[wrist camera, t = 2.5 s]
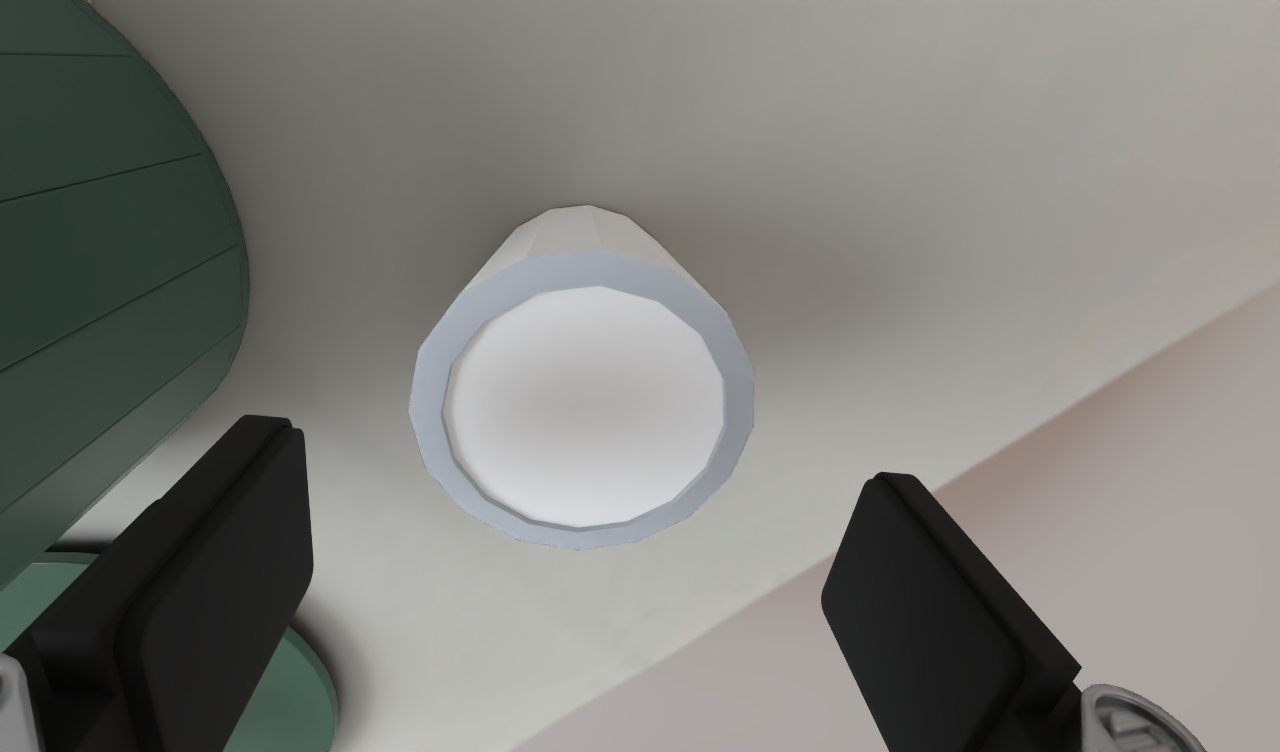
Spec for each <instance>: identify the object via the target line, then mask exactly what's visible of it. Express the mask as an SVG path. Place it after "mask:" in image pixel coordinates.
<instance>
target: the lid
mask: <svg viewBox="0 0 1280 752" xmlns="http://www.w3.org/2000/svg"><path fill="white" fill-rule="evenodd" d="M99 555H100V554H91V553H79V552H43V553H42V554H41V555H40V556H39V557H38V558H37V559H36V560H35V561H33V562H32V563H31V564H30V565H29V566H28V567H27V568H26V569H25V570H24V571H23V572H22V573H20V574H19V575H18V576H17V577H16V578H15V579H14V580H13V581H12V582H11V583H10V584H9V585H7V586H6V587H5V588H4V589H3V590H2V591H1V592H0V652H3V651H4V650H5V649H6V648H7V647H8V646H9V645H10V644H11V643H12V642H13V641H14V640H15V639H16V638H17V637H18V636H19V635H20V634H21V633H22V632H23V631H24V630H25V629H26V628H27V627H28V626H29V625H30V624H31V623H32V622H33V621H34V620H35V619H36V618H37V617H38V616H39V615H40V614H41V613H42V612H43V611H44V610H45V609H46V608H47V607H48V606H49V605H50V604H51V603H52V602H53V601H54V600H55V599H56V598H57V597H58V596H59V595H60V594H61V593H62V592H63V591H64V590H65V589H66V588H67V587H68V586H69V585H70V584H71V583H72V582H73V581H74V580H75V579H76V578H77V577H78V576H79V575H80V574H81V573H82V572H83V571H84V570H85V569H86V568H87V567H88V566H89V565H90V564H91V563H92V562H93V561H94V560H95V559H96V558H97V557H98V556H99ZM337 725H338V701H337V696H336V691H335V688H334V685H333V683H332V680H331V678H330V675H329V673H328V671H327V670H326V668H325V667H324V665H323V663H322V662H321V660H320V659H319V657H318V655H317V654H316V653H315V652H314V651H313V650H312V649H311V647H310V646H309V645H308V644H307V643H306V642H305V640H304V639H303V638H302V637H300V636H299V635H298V634H297V633H296V632H295V631H294V630H293V629H292V628H290V627H289V626H288V627H287V629H286V631H285V633H284V635H283V637H282V639H281V641H280V643H279V645H278V646H277V648H276V650H275V652H274V654H273V656H272V658H271V660H270V662H269V664H268V666H267V668H266V669H265V671H264V673H263V675H262V677H261V679H260V681H259V683H258V685H257V687H256V689H255V691H254V692H253V694H252V696H251V698H250V700H249V702H248V704H247V706H246V708H245V710H244V712H243V714H242V715H241V717H240V719H239V721H238V723H237V725H236V727H235V729H234V731H233V733H232V735H231V736H230V738H229V740H228V742H227V744H226V746H225V748H224V750H223V752H329V750H330V748H331V746H332V743H333V740H334V737H335V733H336V729H337Z"/></svg>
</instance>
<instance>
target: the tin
mask: <svg viewBox="0 0 1280 752" xmlns="http://www.w3.org/2000/svg"><path fill="white" fill-rule="evenodd" d="M248 299H249V277H248V259H247V254H246V249H245V244H244V239H243V234H242V229H241V224H240V221H239V218H238V215H237V212H236V209H235V206H234V203H233V200H232V197H231V194H230V191H229V189H228V187H227V184H226V182H225V180H224V178H223V176H222V174H221V172H220V170H219V168H218V165H217V163H216V161H215V159H214V157H213V155H212V153H211V151H210V149H209V148H208V146H207V144H206V143H205V141H204V139H203V138H202V136H201V134H200V133H199V131H198V130H197V128H196V126H195V125H194V123H193V121H192V120H191V118H190V116H189V115H188V113H187V112H186V111H185V109H184V108H183V107H182V105H181V104H180V103H179V101H178V100H177V99H176V97H175V96H174V95H173V93H172V92H171V91H170V89H169V88H168V87H167V85H166V84H165V83H164V82H163V80H162V79H161V78H160V76H159V75H158V74H157V73H156V72H155V70H154V69H153V68H152V67H151V66H150V65H149V64H148V63H147V62H146V61H145V60H144V59H143V57H142V56H141V55H140V54H139V53H138V52H137V51H136V50H135V49H134V48H133V47H132V45H131V44H130V43H129V42H128V41H127V40H126V39H125V38H124V37H123V36H122V35H121V34H120V33H119V32H118V31H117V30H116V29H115V28H113V27H112V26H111V25H110V24H109V23H108V22H107V21H106V20H105V19H103V18H102V17H101V16H100V15H99V14H98V13H97V12H96V11H95V10H94V9H92V8H91V7H90V6H89V5H88V4H87V3H86V2H85V1H84V0H0V592H1V591H2V590H3V589H4V588H5V587H6V586H7V585H9V584H10V583H11V582H12V581H13V580H14V579H15V578H16V577H17V576H18V575H19V574H20V573H22V572H23V571H24V570H25V569H26V568H27V567H28V566H29V565H30V564H31V563H32V562H33V561H35V560H36V559H37V558H38V557H39V556H40V555H41V554H42V553H43V552H44V551H45V550H46V549H48V548H49V547H50V546H51V545H52V544H53V543H54V542H55V541H56V540H57V539H58V538H59V537H61V536H62V535H63V534H64V533H65V532H66V531H67V530H68V529H69V528H70V527H71V526H72V525H74V524H75V523H76V522H77V521H78V520H79V519H80V518H81V517H82V516H83V515H84V514H85V513H87V512H88V511H89V510H90V509H91V508H92V507H93V506H94V505H95V504H96V503H97V502H98V501H100V500H101V499H102V498H103V497H104V496H105V495H106V494H107V493H108V492H109V491H110V490H111V489H113V488H114V487H115V486H116V485H117V484H118V483H119V482H120V481H121V480H122V479H123V478H124V477H126V476H127V475H128V474H129V473H130V472H131V471H132V470H133V469H134V468H135V467H136V466H137V465H139V464H140V463H141V462H142V461H143V460H144V459H145V458H146V457H147V456H148V455H149V454H150V453H152V452H153V451H154V450H155V449H156V448H157V447H158V446H159V445H160V444H161V443H162V442H163V441H165V440H166V439H167V438H168V437H169V436H170V435H171V434H172V433H173V432H174V431H175V430H176V429H177V428H178V427H179V426H180V425H181V424H182V423H183V422H184V421H185V420H186V419H187V418H188V417H189V416H190V415H191V414H192V413H193V412H194V411H195V410H196V409H197V408H198V407H199V406H200V405H201V404H202V403H203V402H204V401H205V400H206V399H207V398H208V397H209V396H210V395H211V394H212V393H213V392H214V391H215V390H216V389H217V387H218V386H219V384H220V382H221V381H222V379H223V378H224V377H225V375H226V374H227V372H228V370H229V368H230V366H231V364H232V362H233V360H234V357H235V355H236V353H237V351H238V349H239V346H240V342H241V339H242V335H243V331H244V328H245V324H246V318H247V309H248Z"/></svg>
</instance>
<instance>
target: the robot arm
mask: <svg viewBox="0 0 1280 752" xmlns="http://www.w3.org/2000/svg"><path fill="white" fill-rule="evenodd" d="M312 574H313V548H312V535H311V521H310V507H309V494H308V480H307V467H306V453H305V439H304V433H303V431H302V430H301V429H297V428H292V424H291V422H290V420H289V419H287V418H281V417H269V416H258V415H244V416H243V417H241V418H240V419H239V420H238V421H237V422H236V423H235V424H234V425H233V426H232V427H231V428H230V429H229V430H228V431H227V432H226V433H225V434H224V435H223V436H222V437H221V438H220V439H219V440H218V441H217V442H216V443H215V444H214V445H213V446H212V447H211V448H210V449H209V450H208V451H207V452H206V453H205V454H204V455H203V456H202V457H201V458H200V459H199V460H198V461H197V462H196V463H195V464H194V465H193V466H192V467H191V468H190V469H189V470H188V471H187V472H186V473H185V475H184V476H183V477H182V478H181V479H180V480H179V481H178V482H177V483H176V484H175V485H174V486H173V487H172V488H171V489H170V490H169V491H168V492H167V493H166V494H165V495H164V496H163V497H162V498H161V499H158V500H156V501H155V502H153V503H152V504H151V505H150V506H148V507H147V508H146V509H145V510H144V511H143V512H142V513H141V514H140V515H139V516H138V517H137V518H136V519H135V520H134V521H133V522H132V523H131V524H130V525H129V526H128V527H127V528H126V529H125V530H124V531H123V532H122V533H121V534H120V535H119V536H118V537H117V538H116V539H115V540H114V541H113V542H112V543H111V544H110V545H109V546H108V547H107V548H106V549H105V550H104V551H103V552H102V553H101V554H100V555H99V556H98V557H97V558H96V559H95V560H94V561H93V562H92V563H91V564H90V565H89V566H88V567H87V568H86V569H85V570H84V571H83V572H82V573H81V574H80V575H79V576H78V577H77V578H76V579H75V580H74V581H73V582H72V583H71V584H70V585H69V586H68V587H67V588H66V589H65V590H64V591H63V592H62V593H61V594H60V595H59V596H58V597H57V598H56V599H55V600H54V601H53V602H52V603H51V604H50V605H49V606H48V607H47V608H46V609H45V610H44V611H43V612H42V613H41V614H40V615H39V616H38V617H37V618H36V619H35V620H34V621H33V622H32V623H31V624H30V625H29V626H28V627H27V628H26V629H25V630H24V631H23V632H22V633H21V634H20V635H19V636H18V637H17V638H16V639H15V640H14V641H13V642H12V643H11V644H10V645H9V646H8V647H7V648H6V649H5V650H4V651H3V652H0V752H223V750H224V748H225V746H226V744H227V742H228V740H229V738H230V736H231V735H232V733H233V731H234V729H235V727H236V725H237V723H238V721H239V719H240V717H241V715H242V714H243V712H244V710H245V708H246V706H247V704H248V702H249V700H250V698H251V696H252V694H253V692H254V691H255V689H256V687H257V685H258V683H259V681H260V679H261V677H262V675H263V673H264V671H265V669H266V668H267V666H268V664H269V662H270V660H271V658H272V656H273V654H274V652H275V650H276V648H277V646H278V645H279V643H280V641H281V639H282V637H283V635H284V633H285V631H286V629H287V627H288V625H289V623H290V622H291V620H292V618H293V616H294V614H295V612H296V610H297V608H298V606H299V604H300V602H301V600H302V599H303V597H304V595H305V593H306V591H307V589H308V587H309V584H310V581H311V578H312ZM821 604H822V610H823V612H824V615H825V617H826V619H827V621H828V623H829V625H830V628H831V630H832V631H833V634H834V636H835V638H836V640H837V642H838V644H839V646H840V649H841V651H842V653H843V655H844V657H845V659H846V661H847V663H848V665H849V668H850V670H851V672H852V674H853V676H854V678H855V680H856V682H857V684H858V686H859V688H860V691H861V693H862V695H863V697H864V699H865V701H866V703H867V706H868V708H869V710H870V712H871V714H872V716H873V718H874V720H875V722H876V725H877V727H878V729H879V731H880V733H881V735H882V737H883V739H884V741H885V744H886V746H887V748H888V750H889V752H1207V751H1206V750H1205V749H1204V747H1203V746H1202V745H1201V743H1200V742H1199V741H1198V739H1197V738H1196V737H1195V736H1194V735H1193V734H1192V733H1191V732H1190V731H1189V730H1188V729H1187V728H1186V727H1185V726H1184V725H1182V723H1181V722H1179V721H1178V720H1177V719H1175V718H1174V717H1173V716H1172V715H1170V714H1169V713H1168V712H1166V711H1165V710H1164V709H1162V708H1161V707H1159V706H1158V705H1156V704H1154V703H1152V702H1151V701H1149V700H1148V699H1146V698H1144V697H1142V696H1141V695H1138V694H1136V693H1134V692H1131V691H1129V690H1127V689H1124V688H1121V687H1117V686H1113V685H1108V684H1094V685H1091V686H1090V687H1088V688H1087V689H1085V690H1084V691H1083V692H1081V691H1080V690H1079V689H1078V688H1077V687H1076V685H1075V684H1074V683H1073V680H1074V679H1075V677H1076V676H1077V674H1078V673H1079V671H1080V670H1081V668H1082V667H1081V666H1080V664H1079V663H1078V662H1077V661H1076V660H1075V659H1074V658H1073V656H1072V655H1071V654H1070V653H1069V652H1068V651H1067V649H1066V648H1065V647H1064V646H1063V645H1062V644H1061V643H1060V642H1059V640H1058V639H1057V638H1056V637H1055V636H1054V635H1053V633H1052V632H1051V631H1050V630H1049V629H1048V628H1047V627H1046V626H1045V624H1044V623H1043V622H1042V621H1041V620H1040V618H1039V617H1038V616H1037V615H1036V614H1035V613H1034V612H1033V611H1032V609H1031V608H1030V607H1029V606H1028V605H1027V604H1026V603H1025V601H1024V600H1023V599H1022V598H1021V597H1020V596H1019V594H1018V593H1017V592H1016V591H1015V590H1014V589H1013V588H1012V587H1011V585H1010V584H1009V583H1008V582H1007V581H1006V579H1005V578H1004V577H1003V576H1002V575H1001V574H1000V573H999V572H998V570H997V569H996V568H995V567H994V566H993V565H992V563H991V562H990V561H989V560H988V559H987V558H986V557H985V555H984V554H982V552H981V551H980V550H979V549H978V547H977V546H976V545H975V544H974V543H973V542H972V540H971V539H970V538H969V537H968V536H967V535H966V534H965V533H964V531H963V530H962V529H961V528H960V527H959V526H958V525H957V523H956V522H955V521H954V520H953V519H952V518H951V516H950V515H949V514H948V513H947V512H946V511H945V510H944V508H943V507H942V506H941V505H940V504H939V503H938V501H937V500H936V499H935V498H934V497H933V496H932V495H931V493H930V492H929V491H928V490H927V489H926V488H925V487H924V485H923V484H922V483H921V482H920V481H919V480H918V479H917V478H916V477H915V476H914V475H910V474H900V473H889V472H880V473H878V474H876V475H875V476H874V478H873V479H870V480H868V481H867V482H865V484H864V486H863V489H862V491H861V494H860V496H859V499H858V501H857V504H856V506H855V509H854V511H853V514H852V517H851V519H850V522H849V524H848V527H847V529H846V532H845V534H844V537H843V539H842V542H841V545H840V547H839V550H838V552H837V555H836V557H835V560H834V562H833V565H832V568H831V570H830V573H829V575H828V578H827V581H826V583H825V585H824V588H823V591H822V595H821Z"/></svg>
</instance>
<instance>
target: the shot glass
mask: <svg viewBox="0 0 1280 752" xmlns="http://www.w3.org/2000/svg"><path fill="white" fill-rule="evenodd" d="M408 413H409V416H410V419H411V423H412V426H413V429H414V433H415V436H416V439H417V442H418V446H419V449H420V452H421V456H422V459H423V462H424V466H425V468H426V469H427V470H428V471H429V473H430V474H431V475H432V476H433V477H434V478H435V479H436V481H437V482H438V483H439V484H440V485H441V486H442V487H443V489H444V490H445V491H446V492H447V493H448V494H449V495H450V497H451V498H452V499H453V500H454V501H455V502H456V503H457V505H458V506H459V507H460V508H461V509H462V510H463V512H465V513H467V514H469V515H470V516H472V517H474V518H476V519H478V520H480V521H482V522H484V523H485V524H487V525H489V526H491V527H493V528H495V529H497V530H499V531H501V532H502V533H504V534H506V535H508V536H510V537H512V538H514V539H516V540H519V541H525V542H531V543H537V544H543V545H549V546H554V547H560V548H566V549H572V550H581V549H589V548H596V547H604V546H611V545H619V544H626V543H633V542H637V541H639V540H641V539H644V538H646V537H648V536H650V535H652V534H654V533H656V532H659V531H661V530H663V529H665V528H667V527H669V526H671V525H674V524H676V523H678V522H680V521H682V520H684V519H686V518H689V517H690V516H691V515H692V514H693V513H694V512H695V511H696V510H697V509H698V508H699V507H700V506H701V505H702V504H703V503H704V502H705V501H706V500H707V499H708V498H709V497H711V496H712V495H713V494H714V493H715V492H716V491H717V490H718V489H719V488H720V487H721V486H722V485H723V484H724V483H725V482H726V481H727V480H728V479H729V478H730V477H731V475H732V472H733V470H734V468H735V466H736V464H737V462H738V459H739V457H740V455H741V453H742V451H743V449H744V446H745V444H746V442H747V440H748V438H749V435H750V433H751V431H752V429H753V427H754V368H753V366H752V363H751V361H750V359H749V357H748V355H747V353H746V351H745V349H744V347H743V345H742V343H741V340H740V338H739V336H738V334H737V332H736V330H735V328H734V326H733V324H732V322H731V320H730V317H729V315H728V313H727V312H726V311H725V310H724V309H723V308H722V307H721V306H720V305H719V304H718V303H717V302H716V301H715V300H714V299H713V298H712V297H711V296H710V295H709V294H708V293H707V292H706V291H705V290H704V289H703V288H702V287H701V286H700V285H699V284H698V283H697V282H696V281H695V280H694V279H693V278H692V277H691V276H690V275H689V274H688V272H687V271H686V270H685V269H684V268H683V267H682V266H681V265H680V264H679V263H678V262H677V261H676V260H675V259H674V258H673V257H672V256H671V255H670V254H669V253H668V252H667V251H666V250H665V249H664V248H663V247H662V246H661V245H660V244H659V243H658V242H657V241H656V240H655V239H654V238H652V237H651V236H650V235H649V234H648V233H646V232H645V231H644V230H643V229H642V228H640V227H639V226H638V225H637V224H636V223H634V222H633V221H632V220H631V219H630V218H628V217H627V216H624V215H621V214H618V213H614V212H611V211H608V210H604V209H601V208H598V207H594V206H591V205H585V206H575V207H566V208H556V209H549V210H548V211H546V212H544V213H542V214H541V215H539V216H537V217H535V218H533V219H532V220H530V221H528V222H526V223H524V224H523V225H521V226H519V227H517V228H516V229H515V230H514V231H513V232H512V234H511V235H510V236H509V237H508V238H507V239H506V240H505V242H504V243H503V244H502V245H501V246H500V247H499V249H498V250H497V251H496V252H495V253H494V254H493V256H492V257H491V258H490V259H489V260H488V261H487V263H486V264H485V265H484V266H483V267H482V268H481V269H480V271H479V272H478V273H477V274H476V275H475V276H474V278H473V279H472V280H471V281H470V282H469V283H468V285H467V286H466V287H465V288H464V289H463V290H462V292H461V293H460V294H459V295H458V297H457V298H456V299H455V301H454V302H453V303H452V305H451V306H450V307H449V309H448V310H447V311H446V313H445V314H444V315H443V317H442V318H441V319H440V321H439V322H438V323H437V325H436V326H435V327H434V329H433V330H432V332H431V333H430V334H429V336H428V337H427V338H426V340H425V341H424V342H423V344H422V345H421V346H420V348H419V350H418V355H417V361H416V367H415V373H414V378H413V384H412V390H411V395H410V401H409V407H408Z"/></svg>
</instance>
